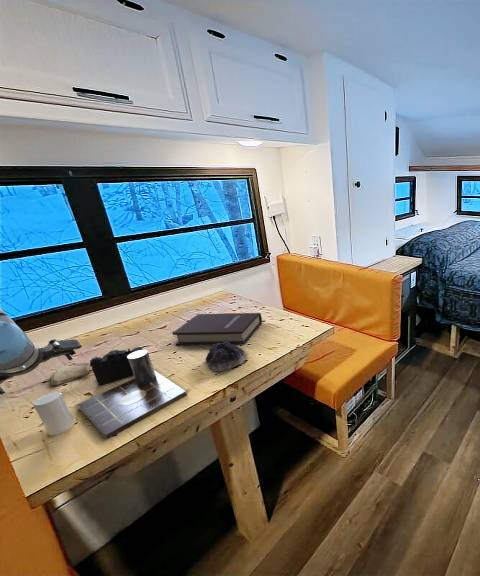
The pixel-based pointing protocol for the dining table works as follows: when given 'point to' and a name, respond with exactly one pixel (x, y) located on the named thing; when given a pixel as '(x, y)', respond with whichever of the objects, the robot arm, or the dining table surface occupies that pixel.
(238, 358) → the crystal cluster
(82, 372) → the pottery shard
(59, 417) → the white plastic cylinder
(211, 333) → the book
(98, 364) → the camera
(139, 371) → the shiny metal cylinder
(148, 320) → the dining table surface
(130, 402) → the grid board
